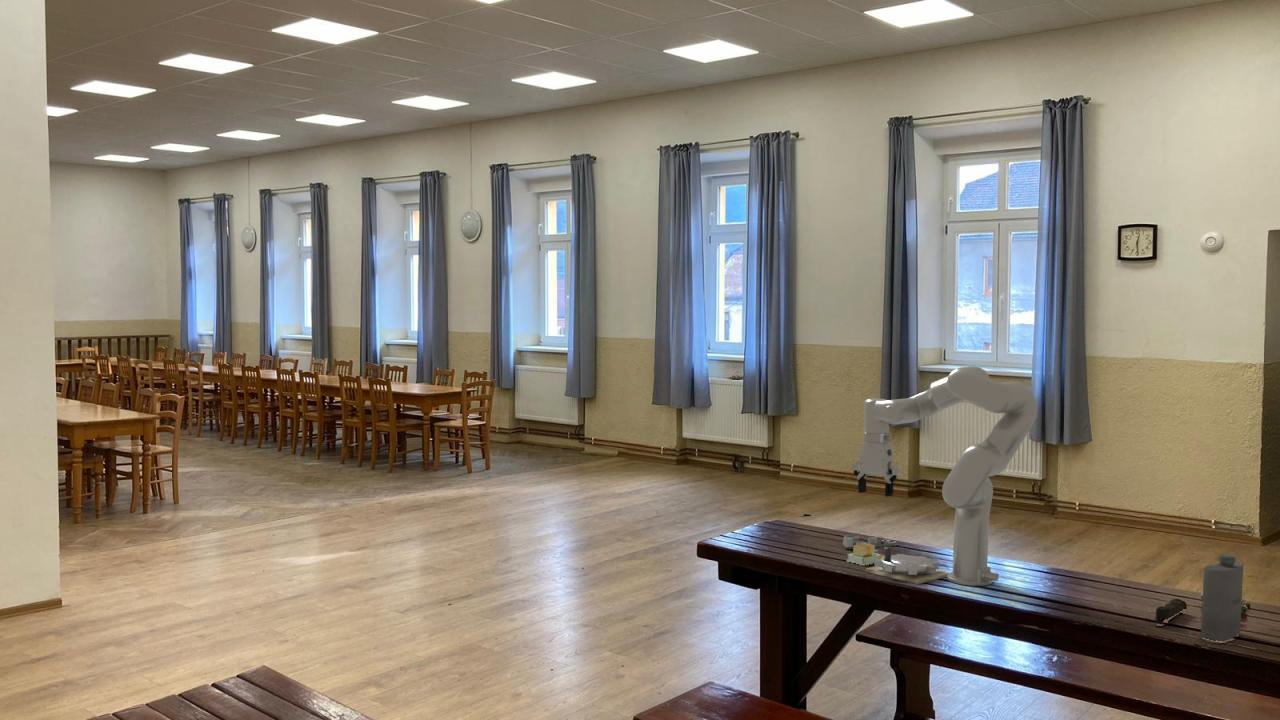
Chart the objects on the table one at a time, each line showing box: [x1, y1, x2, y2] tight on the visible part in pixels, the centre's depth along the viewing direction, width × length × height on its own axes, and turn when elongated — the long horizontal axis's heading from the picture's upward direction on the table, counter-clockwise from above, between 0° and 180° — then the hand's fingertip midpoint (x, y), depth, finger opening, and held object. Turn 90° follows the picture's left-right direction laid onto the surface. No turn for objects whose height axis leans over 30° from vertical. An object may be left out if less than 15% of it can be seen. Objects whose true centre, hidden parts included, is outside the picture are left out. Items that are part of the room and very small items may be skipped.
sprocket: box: [874, 546, 940, 575], centre depth 313 cm, size 18×18×6 cm
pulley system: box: [842, 535, 898, 554], centre depth 348 cm, size 27×5×15 cm
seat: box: [846, 553, 882, 567], centre depth 327 cm, size 6×9×2 cm
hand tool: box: [1154, 598, 1188, 624], centre depth 271 cm, size 19×4×5 cm, turn 136°
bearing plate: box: [865, 565, 950, 585], centre depth 313 cm, size 18×16×2 cm
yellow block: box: [852, 542, 876, 558], centre depth 327 cm, size 4×6×5 cm, turn 132°
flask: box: [1200, 553, 1244, 641], centre depth 256 cm, size 15×6×20 cm, turn 132°
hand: (875, 494), depth 327 cm, fingers open, 9 cm apart
